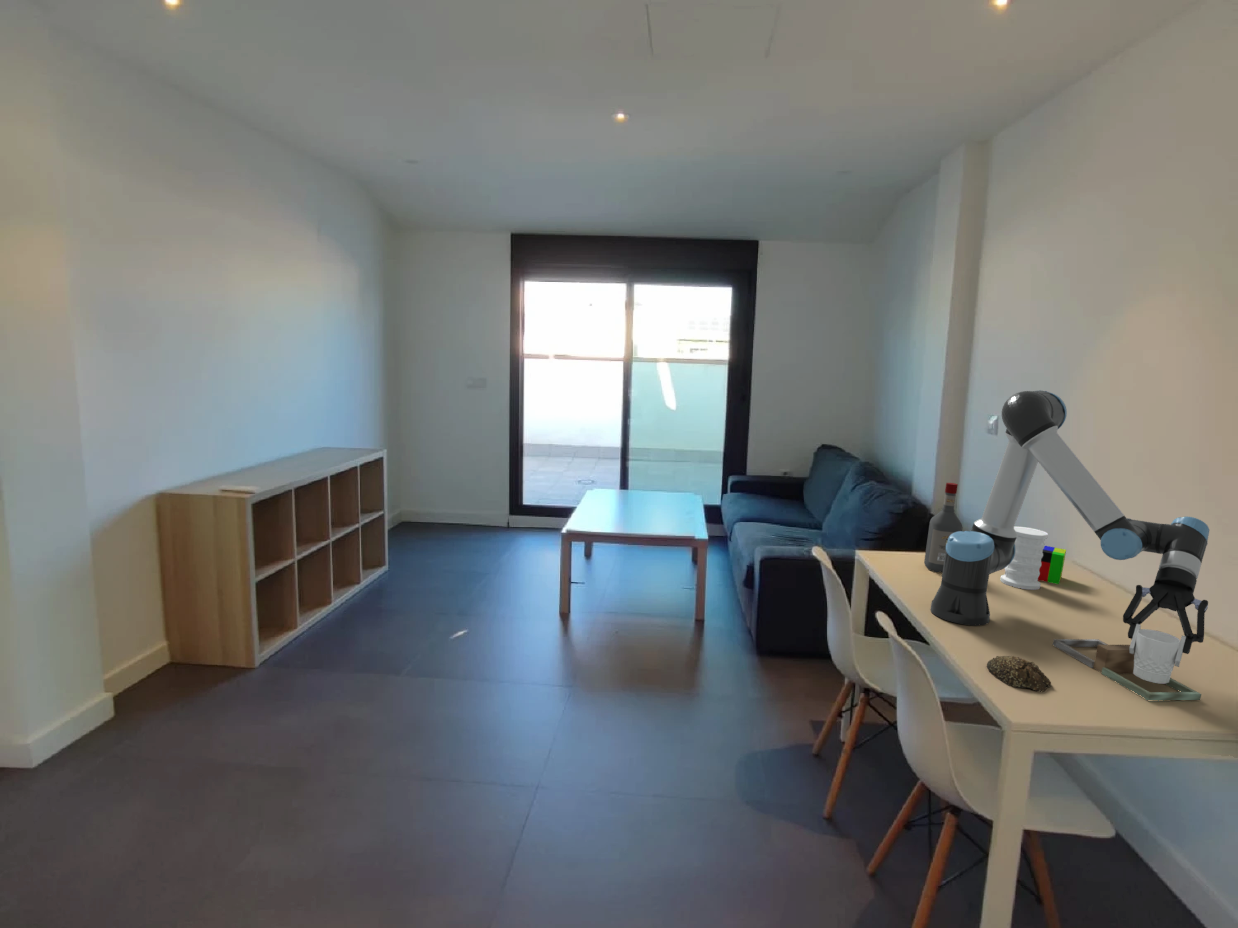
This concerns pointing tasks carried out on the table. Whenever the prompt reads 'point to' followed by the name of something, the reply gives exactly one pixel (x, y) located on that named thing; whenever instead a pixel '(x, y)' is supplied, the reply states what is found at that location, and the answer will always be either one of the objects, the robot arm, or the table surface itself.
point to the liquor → (942, 530)
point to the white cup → (1155, 655)
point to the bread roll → (1018, 672)
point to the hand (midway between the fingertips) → (1153, 656)
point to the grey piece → (1121, 667)
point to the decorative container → (1026, 559)
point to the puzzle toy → (1052, 564)
